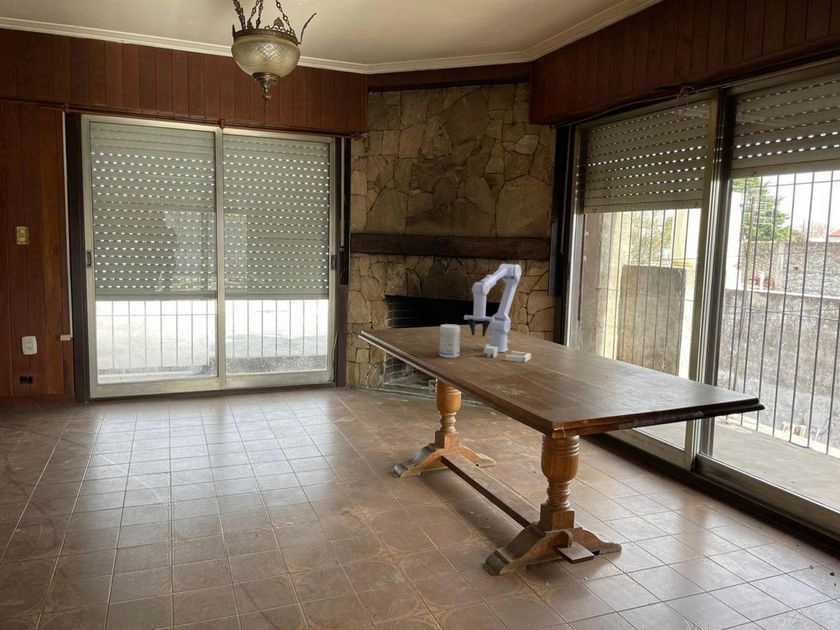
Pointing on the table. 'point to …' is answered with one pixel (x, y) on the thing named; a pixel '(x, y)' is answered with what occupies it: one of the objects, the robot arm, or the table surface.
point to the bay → (518, 356)
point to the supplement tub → (449, 341)
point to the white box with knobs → (490, 351)
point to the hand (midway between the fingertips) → (478, 335)
